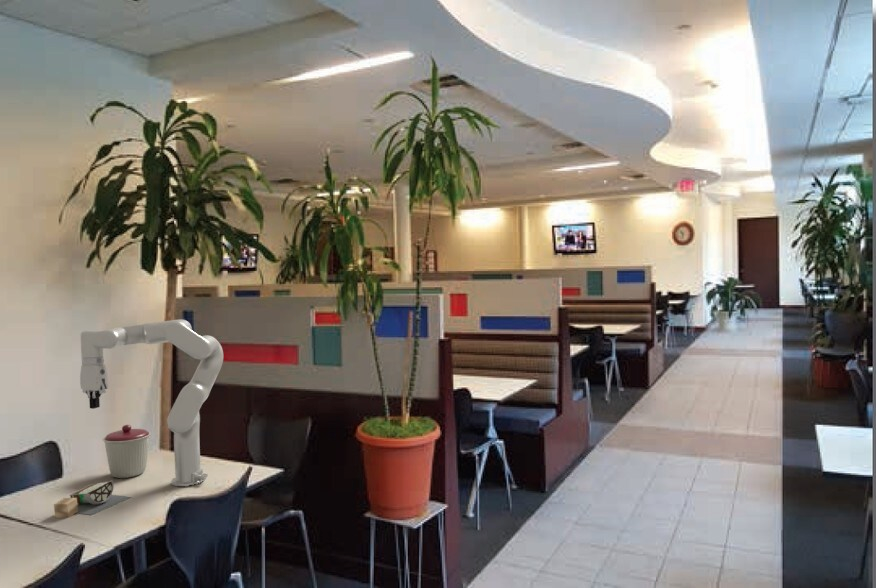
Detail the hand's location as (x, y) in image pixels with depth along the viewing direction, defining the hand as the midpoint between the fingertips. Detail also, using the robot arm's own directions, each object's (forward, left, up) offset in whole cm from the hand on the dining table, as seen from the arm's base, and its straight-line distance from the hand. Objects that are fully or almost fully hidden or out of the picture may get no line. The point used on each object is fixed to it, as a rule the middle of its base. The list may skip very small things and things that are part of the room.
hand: (94, 407), depth 248 cm
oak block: (-13, +25, -32) cm, 43 cm away
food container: (-7, +14, -30) cm, 34 cm away
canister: (+2, -17, -32) cm, 37 cm away
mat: (-16, +14, -32) cm, 39 cm away
